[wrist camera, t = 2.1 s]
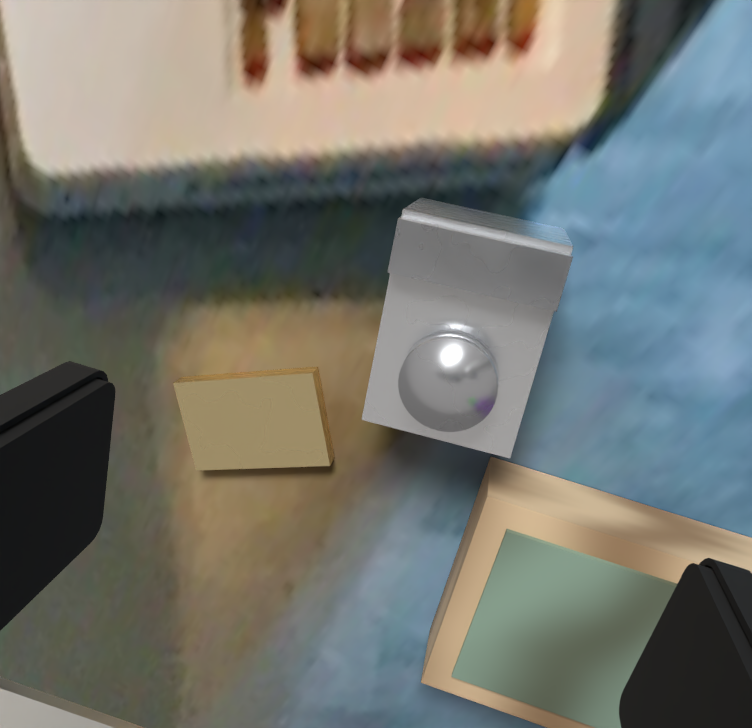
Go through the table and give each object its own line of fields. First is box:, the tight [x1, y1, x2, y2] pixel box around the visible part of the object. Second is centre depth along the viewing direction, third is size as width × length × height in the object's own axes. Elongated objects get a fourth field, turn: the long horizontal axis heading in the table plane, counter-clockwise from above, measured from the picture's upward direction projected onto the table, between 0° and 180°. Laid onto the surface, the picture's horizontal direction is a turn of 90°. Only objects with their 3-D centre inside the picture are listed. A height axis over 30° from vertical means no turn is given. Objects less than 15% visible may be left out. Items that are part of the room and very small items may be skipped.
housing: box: [362, 198, 573, 458], centre depth 21 cm, size 7×5×5 cm
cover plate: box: [173, 367, 335, 470], centre depth 27 cm, size 6×4×1 cm, turn 97°
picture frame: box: [421, 457, 752, 728], centre depth 25 cm, size 11×9×3 cm
